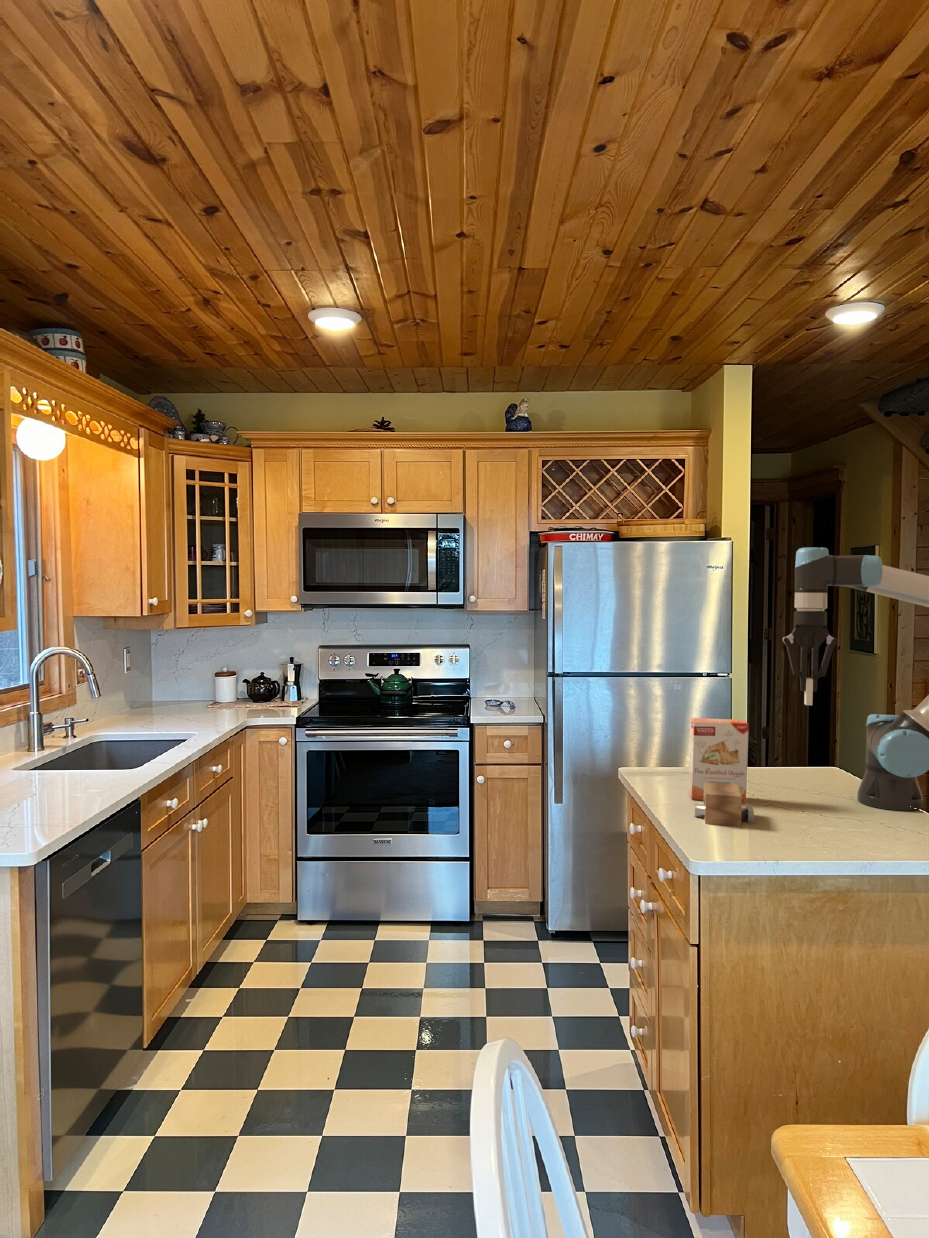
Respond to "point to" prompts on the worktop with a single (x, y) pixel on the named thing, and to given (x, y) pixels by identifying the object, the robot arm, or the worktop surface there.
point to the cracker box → (718, 754)
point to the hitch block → (722, 804)
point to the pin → (746, 812)
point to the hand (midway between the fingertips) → (808, 704)
